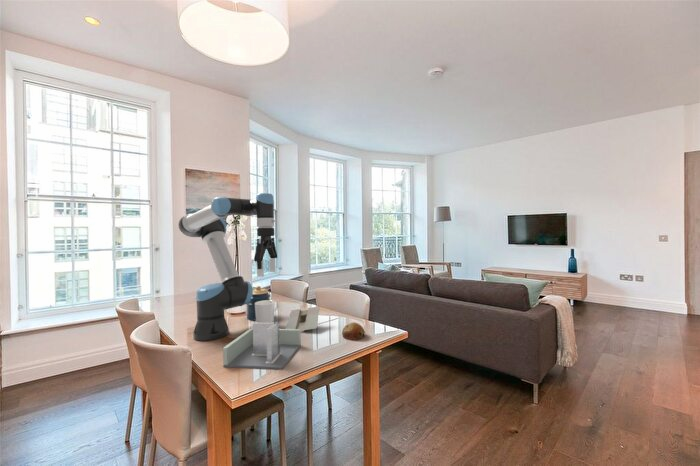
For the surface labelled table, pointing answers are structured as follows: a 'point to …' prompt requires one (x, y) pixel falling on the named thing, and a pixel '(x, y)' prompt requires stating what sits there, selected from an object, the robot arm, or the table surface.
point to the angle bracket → (266, 340)
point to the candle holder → (264, 311)
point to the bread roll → (353, 331)
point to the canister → (257, 296)
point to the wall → (303, 319)
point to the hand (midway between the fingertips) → (266, 274)
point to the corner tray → (242, 355)
